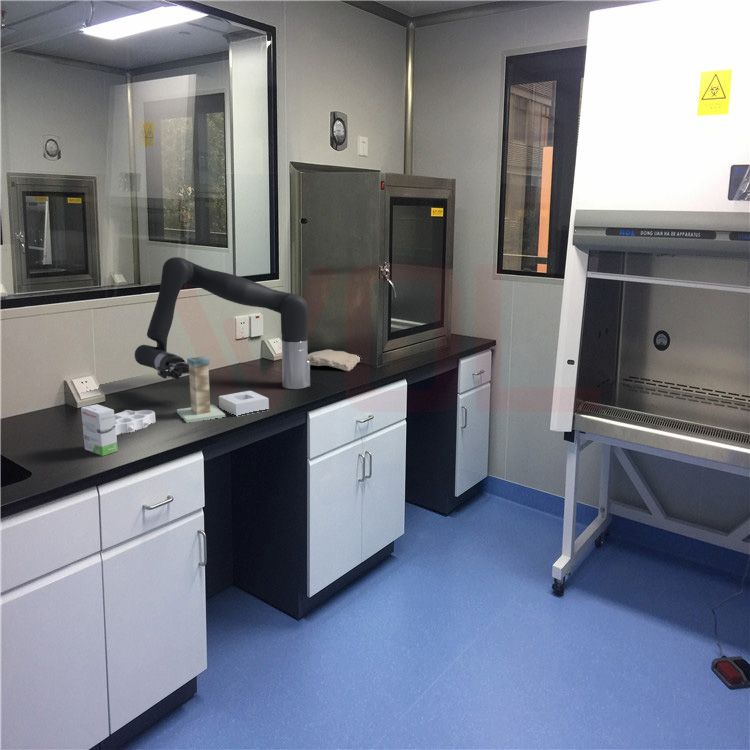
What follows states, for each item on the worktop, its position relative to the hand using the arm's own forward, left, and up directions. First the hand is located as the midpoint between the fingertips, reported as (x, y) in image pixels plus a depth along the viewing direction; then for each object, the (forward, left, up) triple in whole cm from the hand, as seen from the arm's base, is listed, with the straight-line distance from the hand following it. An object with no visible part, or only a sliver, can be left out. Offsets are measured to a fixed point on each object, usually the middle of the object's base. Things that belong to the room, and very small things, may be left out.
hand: (191, 374), depth 212 cm
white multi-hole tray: (+22, +7, -13) cm, 26 cm away
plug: (-1, +6, -11) cm, 12 cm away
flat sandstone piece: (-66, -38, -13) cm, 77 cm away
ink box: (+31, +25, -12) cm, 41 cm away
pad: (-1, +6, -12) cm, 13 cm away
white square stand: (-15, +6, -12) cm, 20 cm away
